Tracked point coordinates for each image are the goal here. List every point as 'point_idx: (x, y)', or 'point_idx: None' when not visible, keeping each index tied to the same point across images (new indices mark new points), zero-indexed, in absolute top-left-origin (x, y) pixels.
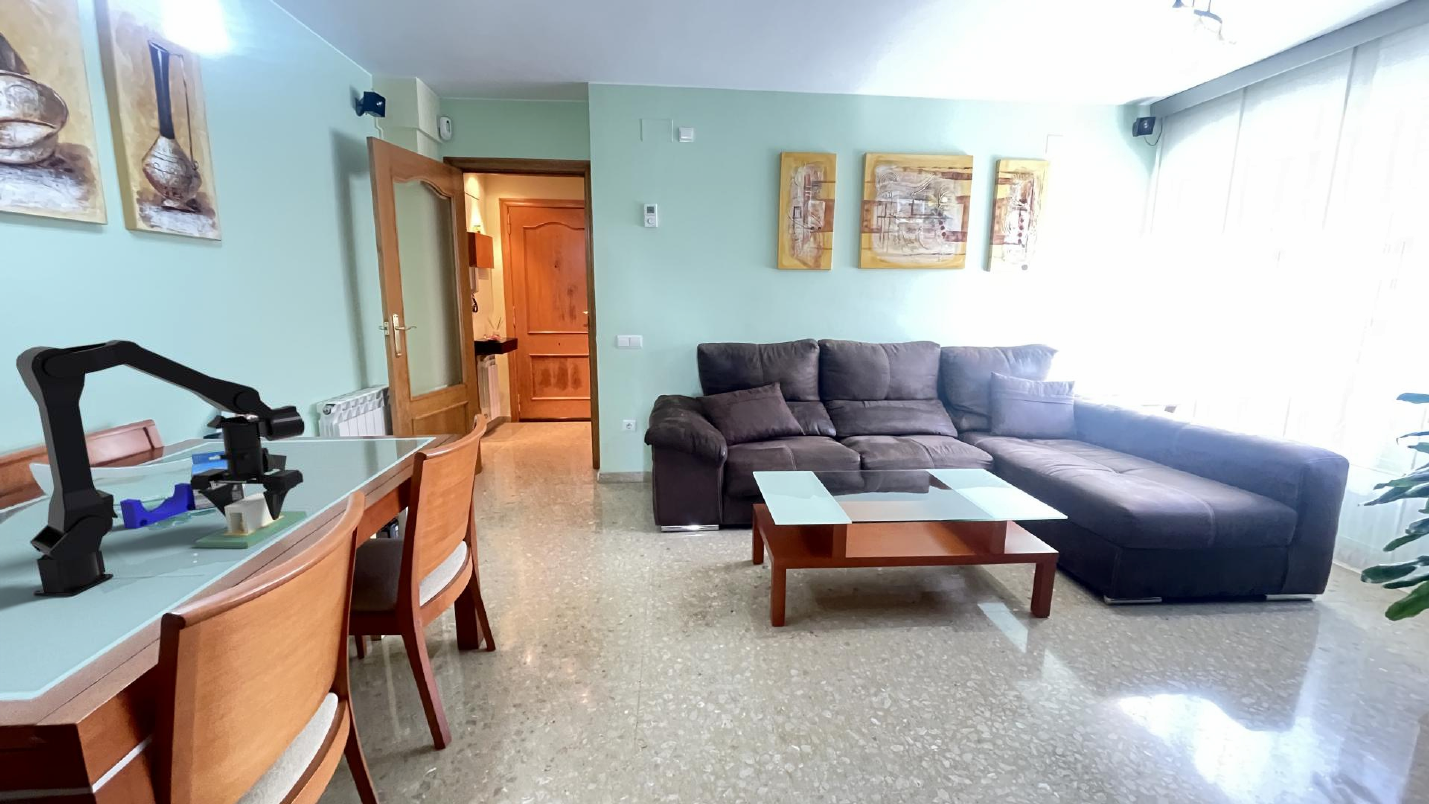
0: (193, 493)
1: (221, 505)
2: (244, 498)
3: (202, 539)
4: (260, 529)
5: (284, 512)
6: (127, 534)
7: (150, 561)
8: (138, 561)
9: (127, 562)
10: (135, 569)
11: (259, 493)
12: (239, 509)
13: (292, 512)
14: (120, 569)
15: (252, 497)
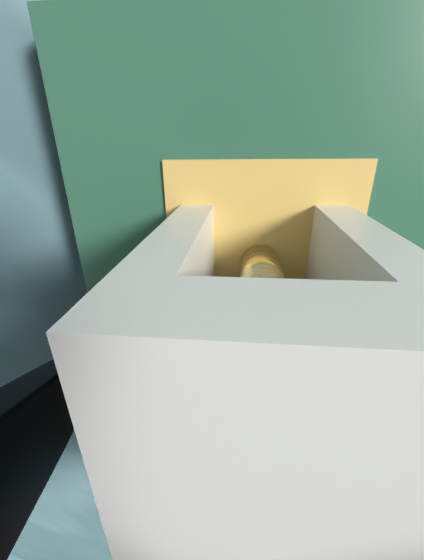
0: None
1: (5, 555)
2: (121, 553)
3: None
4: None
5: (320, 39)
6: None
7: (96, 525)
8: (60, 521)
9: (36, 523)
10: (110, 555)
11: (151, 363)
12: None
13: (412, 30)
14: (69, 551)
15: (206, 530)
